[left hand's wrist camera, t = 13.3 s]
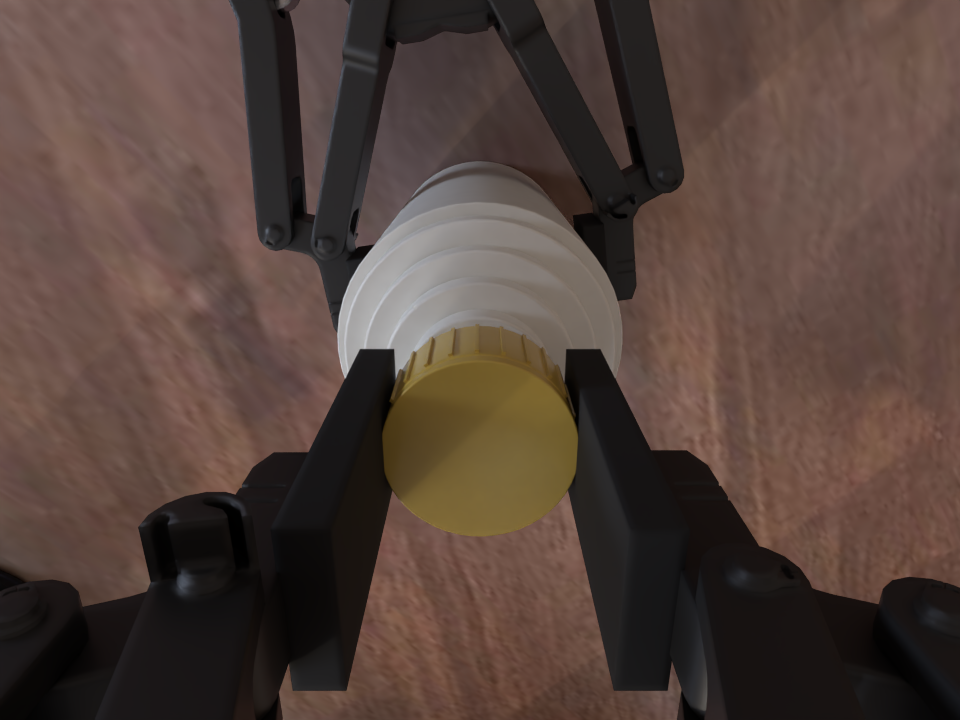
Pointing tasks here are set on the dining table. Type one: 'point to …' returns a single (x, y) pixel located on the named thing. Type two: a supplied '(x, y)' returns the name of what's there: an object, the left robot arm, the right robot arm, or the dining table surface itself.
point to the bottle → (480, 272)
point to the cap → (480, 432)
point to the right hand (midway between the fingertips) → (496, 390)
